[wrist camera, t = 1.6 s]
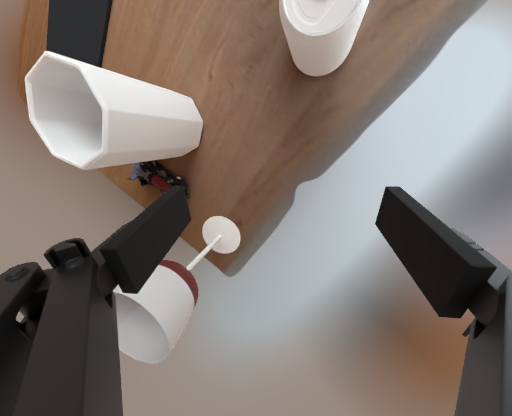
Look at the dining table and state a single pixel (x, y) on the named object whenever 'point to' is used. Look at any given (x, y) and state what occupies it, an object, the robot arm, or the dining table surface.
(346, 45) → the beverage can
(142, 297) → the wineglass
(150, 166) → the toy car
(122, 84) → the cup
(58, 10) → the place mat
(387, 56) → the dining table surface
